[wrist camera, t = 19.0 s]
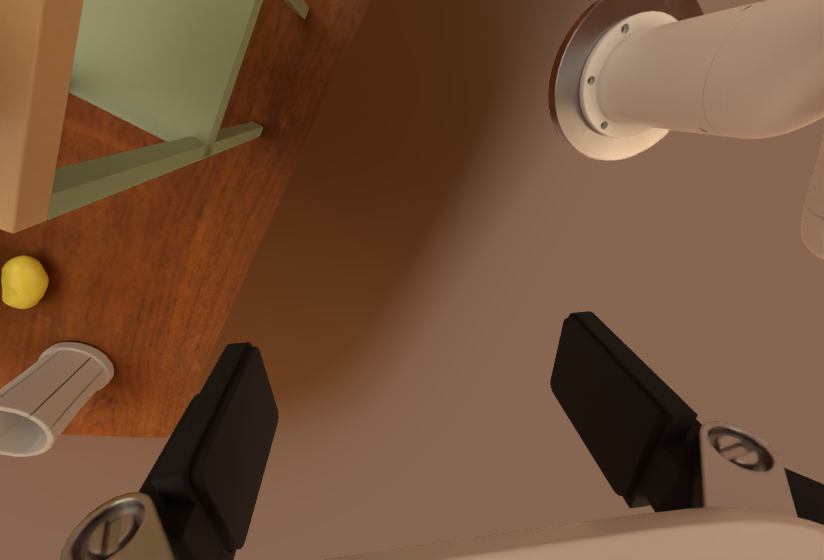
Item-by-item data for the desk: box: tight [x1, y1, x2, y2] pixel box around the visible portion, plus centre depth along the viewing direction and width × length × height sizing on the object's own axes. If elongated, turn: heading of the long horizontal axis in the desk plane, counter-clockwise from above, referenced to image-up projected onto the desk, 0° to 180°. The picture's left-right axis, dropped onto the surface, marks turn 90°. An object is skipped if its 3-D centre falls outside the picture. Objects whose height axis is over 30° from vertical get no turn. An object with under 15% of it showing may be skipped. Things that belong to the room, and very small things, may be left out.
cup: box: [0, 342, 114, 456], centre depth 46 cm, size 10×9×12 cm
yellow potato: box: [1, 255, 49, 309], centre depth 43 cm, size 4×8×4 cm, turn 147°
